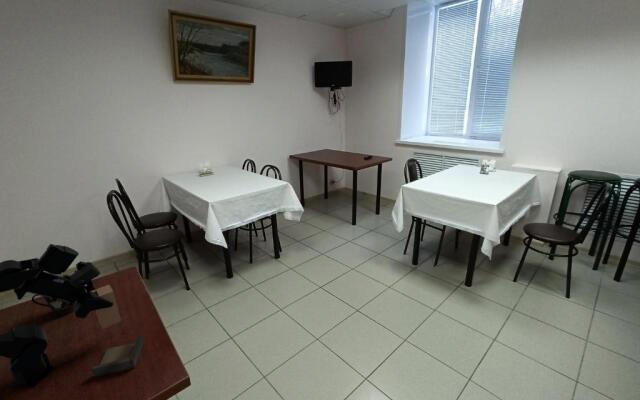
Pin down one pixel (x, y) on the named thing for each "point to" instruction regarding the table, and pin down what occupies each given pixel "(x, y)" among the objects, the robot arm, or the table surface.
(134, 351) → the grey shallow square piece
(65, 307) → the black angular block
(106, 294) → the tan block
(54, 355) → the table surface
